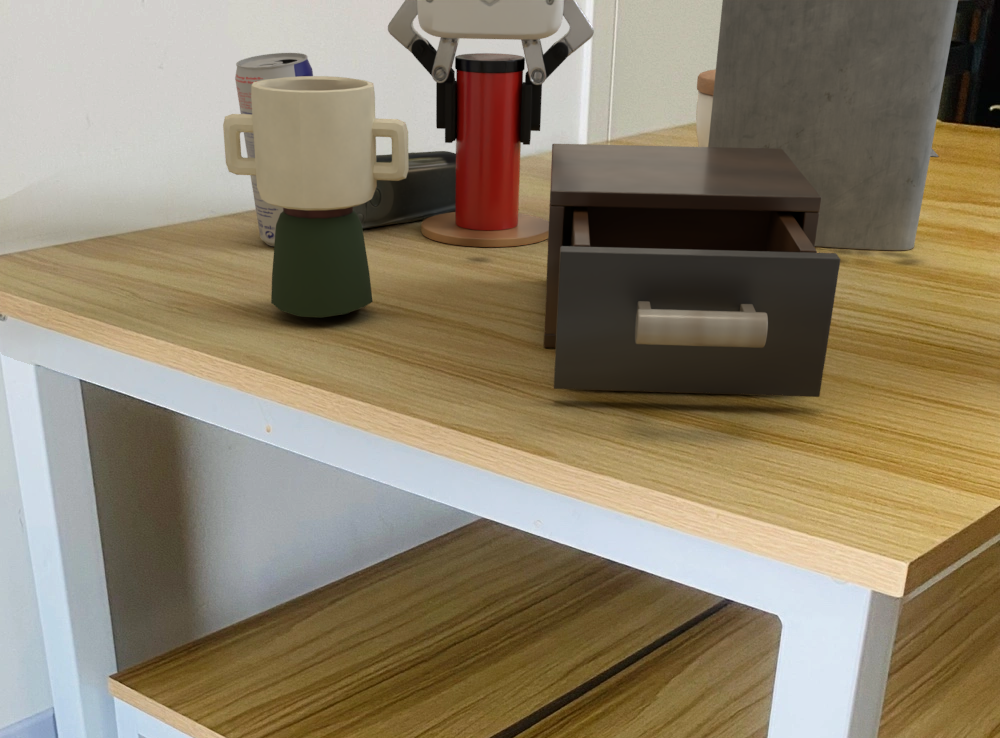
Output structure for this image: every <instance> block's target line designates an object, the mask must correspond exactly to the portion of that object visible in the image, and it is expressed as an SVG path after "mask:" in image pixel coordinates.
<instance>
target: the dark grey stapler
mask: <svg viewBox="0 0 1000 738" xmlns="http://www.w3.org/2000/svg"><path fill="white" fill-rule="evenodd" d="M376 162H381V163H391V162H392V153H390V154H389V153H388V154H376ZM408 166H409V170H408V173H407V177H406V178H405V179H402V180H399V181H391V180H377V187H376V189H375V192H374V195H373V197H372V199H371V200H369V201H367V202H365V203H363V204H361V205H359V206H354V207H353V211H355V212H356V213H357V215H358V217H359V219H360V221H361V223H362V229H363V230H364V229H370V228H372V229H373V228H378V227H385V226H390V225H396V224H397V225H398V224H405V223H406V224H407V223H413V222H417V221H424V220H425V219H427V218H429V217H432V216H435V215H439V214H444V213H451V212H455V185H456V152H452V151H449V150H448V151H447V150H437V151H436V150H434V151H419V152H408Z"/></svg>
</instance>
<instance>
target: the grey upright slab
mask: <svg viewBox="0 0 1000 738" xmlns="http://www.w3.org/2000/svg"><path fill="white" fill-rule="evenodd" d="M958 3H959V0H722V3H721V12H720V23H719V31H718V32H719V34H718V43H717V51H716V52H717V53H716V65H715V69H716V73H715V83H714V93H713V103H712V113H711V123H710V133H709V143H708V147H728V148H773V149H783V151H784V152H785V153H786V154H787V156H788V157H789V158H790V159H791V161H792V162H793V163H794V164H795V166H796V167H797V168H798V169H799V170H800V172H801V173H802V174H803V175H804V177H805V178H806V179H807V180H808V182H809V183H810V184H811V185H812V187H813V188H814V189H815V190H816V191H817V193H818V194H819V195H820V196H821V205H820V211H819V220H818V227H817V234H816V241H815V247H820V248H832V249H833V248H834V249H852V250H871V251H910V250H912V249H914V247H915V244H916V237H917V232H918V228H919V227H918V226H919V222H920V221H919V220H920V216H921V209H922V205H923V199H924V192H925V188H926V182H927V177H928V172H929V171H928V170H929V165H930V160H931V156H930V154H931V149H933V143H934V137H935V132H936V126H937V121H938V114H939V110H940V103H941V98H942V93H943V86H944V81H945V75H946V71H947V64H948V59H949V55H950V54H949V53H950V48H951V42H952V36H953V31H954V27H955V25H954V24H955V20H956V14H957V8H958Z"/></svg>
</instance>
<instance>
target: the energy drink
mask: <svg viewBox="0 0 1000 738" xmlns="http://www.w3.org/2000/svg"><path fill="white" fill-rule="evenodd" d="M308 57H309V56H308V55H307V54H305V53H301V52H276V53H268V54H260V55H259V54H258V55H255V56H250V57H247V58H243V59H240V60H239V61H236V63H235V65H236V70H235V77H234V81H235V86H236V92H237V99H238V104H239V112H240V114H251V115H252V100H251V86H252V84H253V82H257V81H261V80H267V79H276V78H284V77H300V76H314V72H313V67H312V66H311V63H310V61H309V59H308ZM243 137H244V143H245V150H246V155H247V157H246V158H255V147H254V133H252V132H243ZM249 177H250V181H251V187H252V193H253V194H252V195H253V201H254V207H255V213H256V220H257V226H258V232H259V238H260V239H261V241H262V242H264V244H265V245H267V246H269V247H274V243H275V229H276V223H277V221H278V218H279V216H280V213H282V212H283V208H282V207H278V206H274V205H271V204H269V203H267V202H265V201H264V200H262V199H261V197H260V194H259V191H258V188H257V179H256V175H249Z"/></svg>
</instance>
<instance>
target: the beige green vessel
mask: <svg viewBox="0 0 1000 738" xmlns="http://www.w3.org/2000/svg"><path fill="white" fill-rule="evenodd" d="M251 100H252V115H251V114H241V113H230V114H227V115H225V116H224V119H223V124H222V128H223V129H222V130H223V144H224V156H225V157H224V158H225V165H226V167H227V170H228V173H231V174H234V175H236V176H238V175H239V176H250V175H256V179H257V188H258V191H259V194H260V197H261V199H262V200H264V201H265V202H267V203H269V204H271V205H274V206H278V207H282V208H283V212H282V213H280V216H279V218H278V221H277V223H276V229H275V243H274V246H273V259H272V272H271V294H270V295H271V296H270V297H271V300H270V303H271V304H272V305H273V306H274V307H275V308H277V310H279V311H281V312H284V313H286V314H291V315H294V316H296V317H304V318H328V317H334V316H335V317H336V316H339V315H342V316H348V315H349V314H350V313H351V312H354V311H357V310H361V309H364V308H365V307H366V306H368V305H370V304H372V303H373V293H372V284H371V276H370V268H369V262H368V255H367V249H366V243H365V242H366V241H365V235H364V231H363V230H364V228H363V229H362V223H361V221H360V219H359V217H358V215H357V213H356V212H355V211H353V207H354V206H359V205H361V204H363V203H365V202H367V201H369V200H371V199H372V197H373V195H374V192H375V189H376V187H377V180H391V181H399V180H402V179H405V178H406V177H407V173H408V170H409V166H408V153H409V129H408V126H407V122H406V121H403V120H401V119H398V118H376V95H375V85H374V82H371V81H368V80H364V79H358V78H351V77H343V76H341V77H340V76H329V75H313V76H300V77H284V78H276V79H267V80H261V81H257V82H253V84H252V86H251ZM244 132H252V133H254V147H255V158H248V157H243V156H242V146H241V144H242V143H241V133H244ZM377 138H390V139H391V154H392V162H391V163H381V162H376V155H377Z"/></svg>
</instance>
